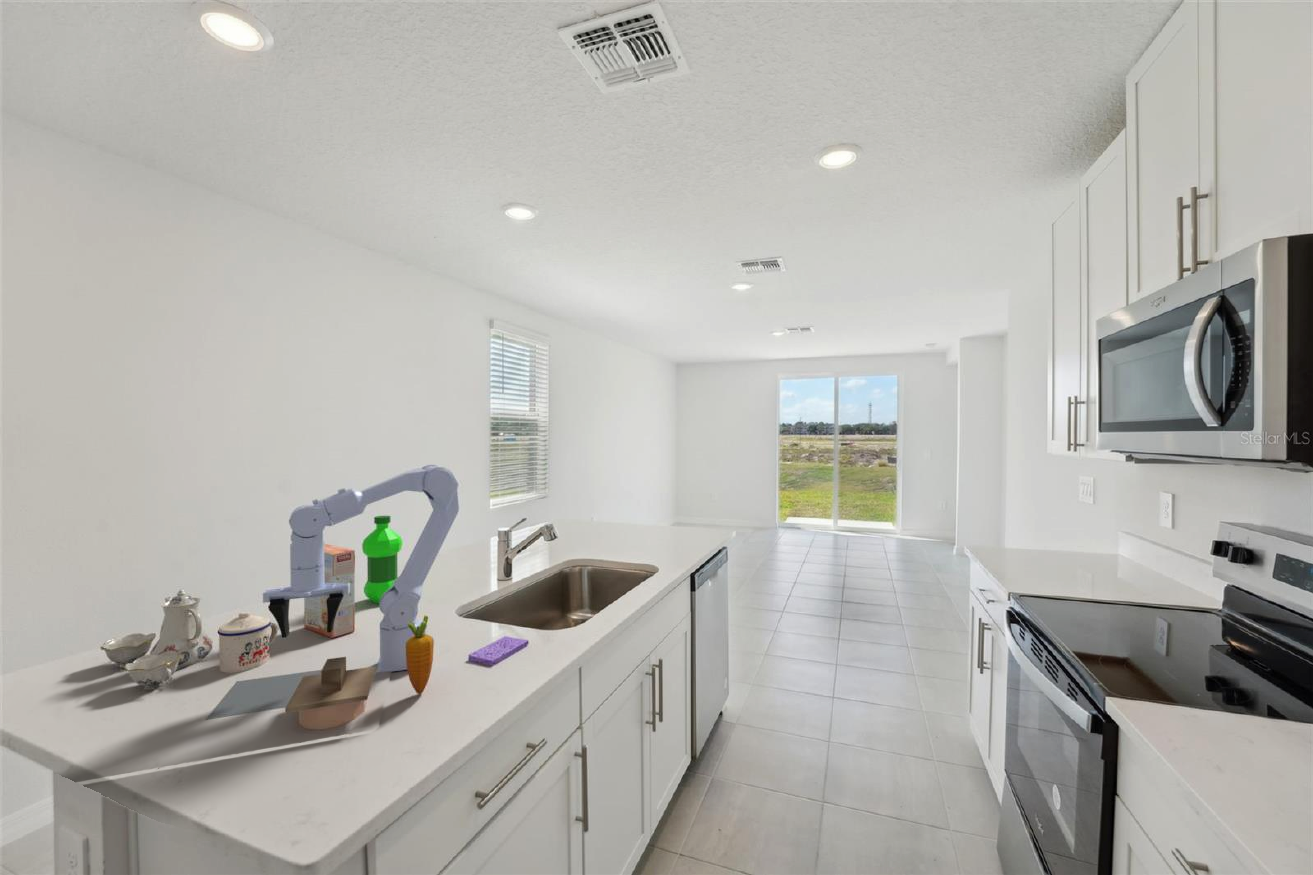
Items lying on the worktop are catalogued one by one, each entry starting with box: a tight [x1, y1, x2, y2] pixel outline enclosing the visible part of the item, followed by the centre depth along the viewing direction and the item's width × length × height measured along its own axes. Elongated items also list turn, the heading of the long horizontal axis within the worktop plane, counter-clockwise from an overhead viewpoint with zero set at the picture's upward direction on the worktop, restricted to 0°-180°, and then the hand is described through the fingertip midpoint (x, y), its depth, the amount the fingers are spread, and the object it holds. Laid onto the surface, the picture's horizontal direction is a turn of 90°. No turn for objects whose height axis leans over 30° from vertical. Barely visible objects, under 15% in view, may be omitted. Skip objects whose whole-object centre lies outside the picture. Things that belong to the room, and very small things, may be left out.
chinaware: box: [100, 589, 213, 691], centre depth 114 cm, size 28×17×17 cm, turn 62°
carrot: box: [406, 615, 435, 695], centre depth 104 cm, size 5×5×15 cm
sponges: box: [467, 635, 530, 667], centre depth 124 cm, size 7×13×2 cm, turn 156°
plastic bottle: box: [361, 515, 403, 604], centre depth 160 cm, size 10×10×25 cm
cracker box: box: [303, 543, 356, 639], centre depth 136 cm, size 14×6×21 cm, turn 58°
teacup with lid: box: [217, 610, 278, 674], centre depth 117 cm, size 12×9×12 cm
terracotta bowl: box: [298, 700, 367, 730], centre depth 96 cm, size 10×10×4 cm
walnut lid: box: [284, 656, 377, 714], centre depth 96 cm, size 12×12×5 cm
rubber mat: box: [205, 669, 322, 721], centre depth 104 cm, size 15×15×1 cm
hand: (308, 633), depth 107 cm, fingers open, 7 cm apart
